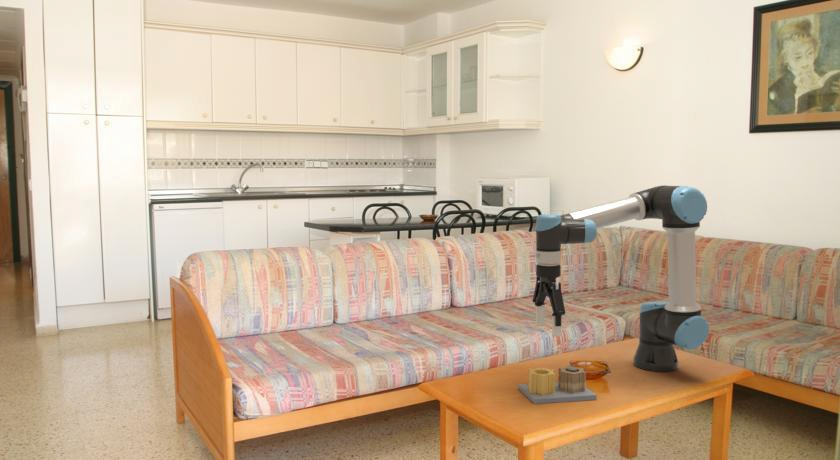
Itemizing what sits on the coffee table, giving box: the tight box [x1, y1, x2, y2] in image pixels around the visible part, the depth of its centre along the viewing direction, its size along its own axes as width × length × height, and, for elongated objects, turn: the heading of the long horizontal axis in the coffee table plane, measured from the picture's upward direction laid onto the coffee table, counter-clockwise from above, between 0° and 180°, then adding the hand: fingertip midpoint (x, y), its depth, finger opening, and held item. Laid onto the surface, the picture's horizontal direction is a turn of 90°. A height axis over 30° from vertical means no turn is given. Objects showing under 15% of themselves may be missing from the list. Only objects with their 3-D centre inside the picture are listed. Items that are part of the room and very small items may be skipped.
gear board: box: [518, 366, 597, 405], centre depth 213 cm, size 20×14×8 cm
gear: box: [557, 365, 587, 393], centre depth 214 cm, size 8×8×6 cm
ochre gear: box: [527, 367, 556, 395], centre depth 212 cm, size 8×8×6 cm
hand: (548, 331), depth 215 cm, fingers open, 13 cm apart
